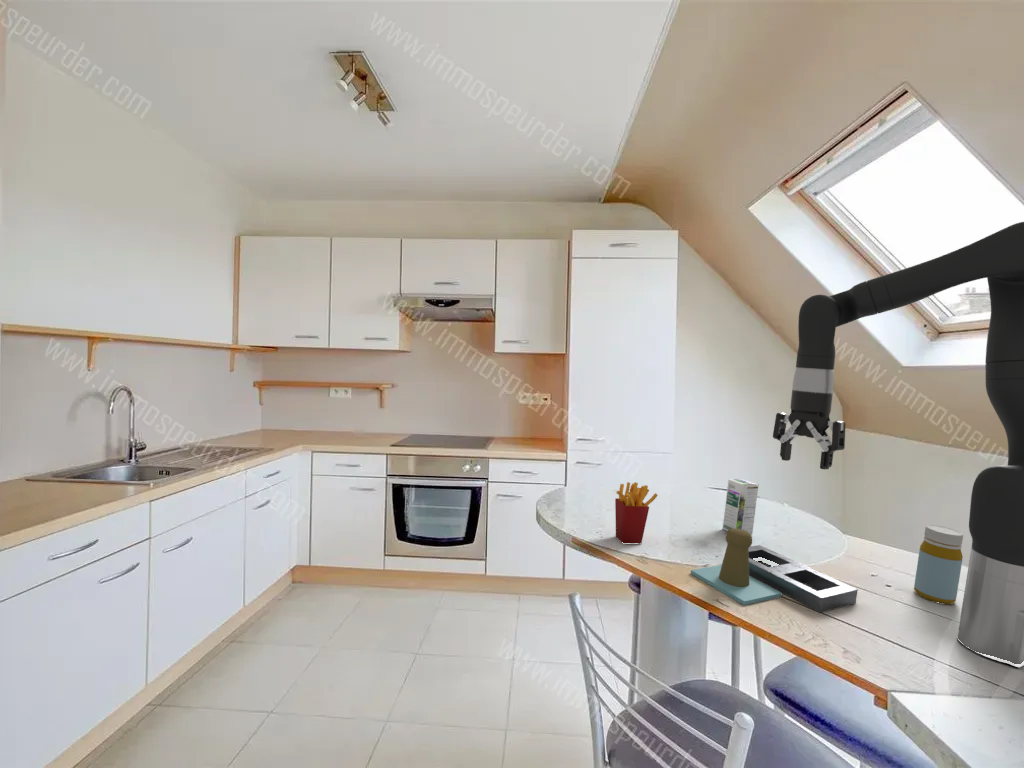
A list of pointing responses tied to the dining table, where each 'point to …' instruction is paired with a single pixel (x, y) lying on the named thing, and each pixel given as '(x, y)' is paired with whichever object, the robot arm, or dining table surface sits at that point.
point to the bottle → (939, 564)
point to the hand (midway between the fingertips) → (804, 464)
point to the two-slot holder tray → (800, 581)
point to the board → (741, 594)
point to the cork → (736, 558)
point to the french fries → (631, 513)
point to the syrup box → (740, 505)
